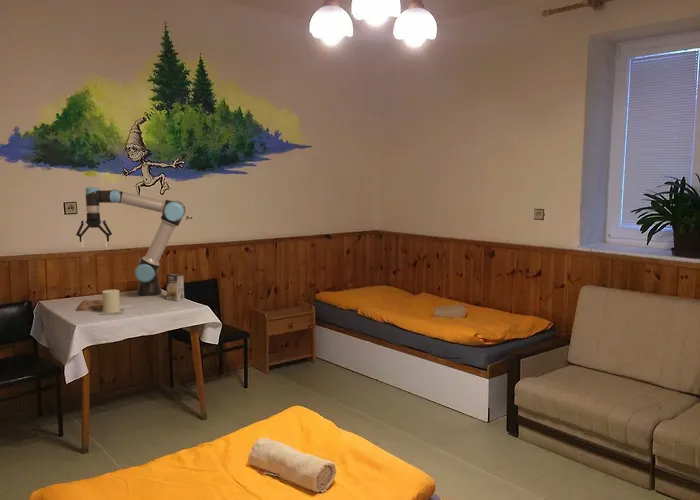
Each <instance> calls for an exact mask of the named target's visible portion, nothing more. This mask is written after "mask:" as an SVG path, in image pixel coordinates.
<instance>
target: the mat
mask: <svg viewBox="0 0 700 500" xmlns="http://www.w3.org/2000/svg"><path fill="white" fill-rule="evenodd" d="M125 310H126V309H125V308H124V307H123V308H120V311H119V312H116V313H104V312H103V309H102V310H100V312H99V313H98V316H105V315H106V316H107V315H109V316H111V315H113V316H114V315H123V313H124V311H125Z"/></svg>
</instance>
